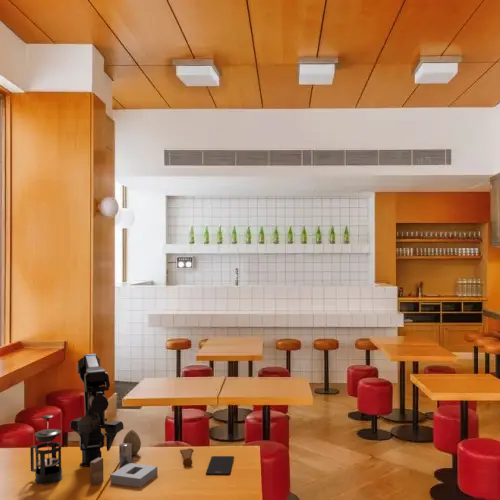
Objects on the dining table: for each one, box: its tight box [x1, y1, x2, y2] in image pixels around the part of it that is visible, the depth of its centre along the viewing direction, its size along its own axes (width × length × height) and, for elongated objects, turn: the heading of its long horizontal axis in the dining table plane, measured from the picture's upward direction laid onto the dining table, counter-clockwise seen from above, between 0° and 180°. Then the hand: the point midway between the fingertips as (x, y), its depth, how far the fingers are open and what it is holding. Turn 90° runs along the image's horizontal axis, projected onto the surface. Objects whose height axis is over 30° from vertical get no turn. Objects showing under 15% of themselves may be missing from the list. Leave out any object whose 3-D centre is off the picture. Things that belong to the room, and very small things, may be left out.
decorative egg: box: [122, 429, 142, 456], centre depth 233 cm, size 7×7×10 cm
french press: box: [29, 414, 63, 485], centre depth 209 cm, size 12×9×23 cm
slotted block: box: [110, 463, 158, 488], centre depth 208 cm, size 12×12×3 cm
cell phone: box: [205, 455, 235, 476], centre depth 219 cm, size 9×18×1 cm, turn 177°
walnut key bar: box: [89, 457, 104, 487], centre depth 205 cm, size 2×5×8 cm, turn 160°
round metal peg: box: [118, 442, 133, 469], centre depth 221 cm, size 4×4×8 cm
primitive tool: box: [179, 448, 194, 468], centre depth 229 cm, size 19×6×4 cm, turn 11°
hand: (97, 449), depth 205 cm, fingers open, 9 cm apart
